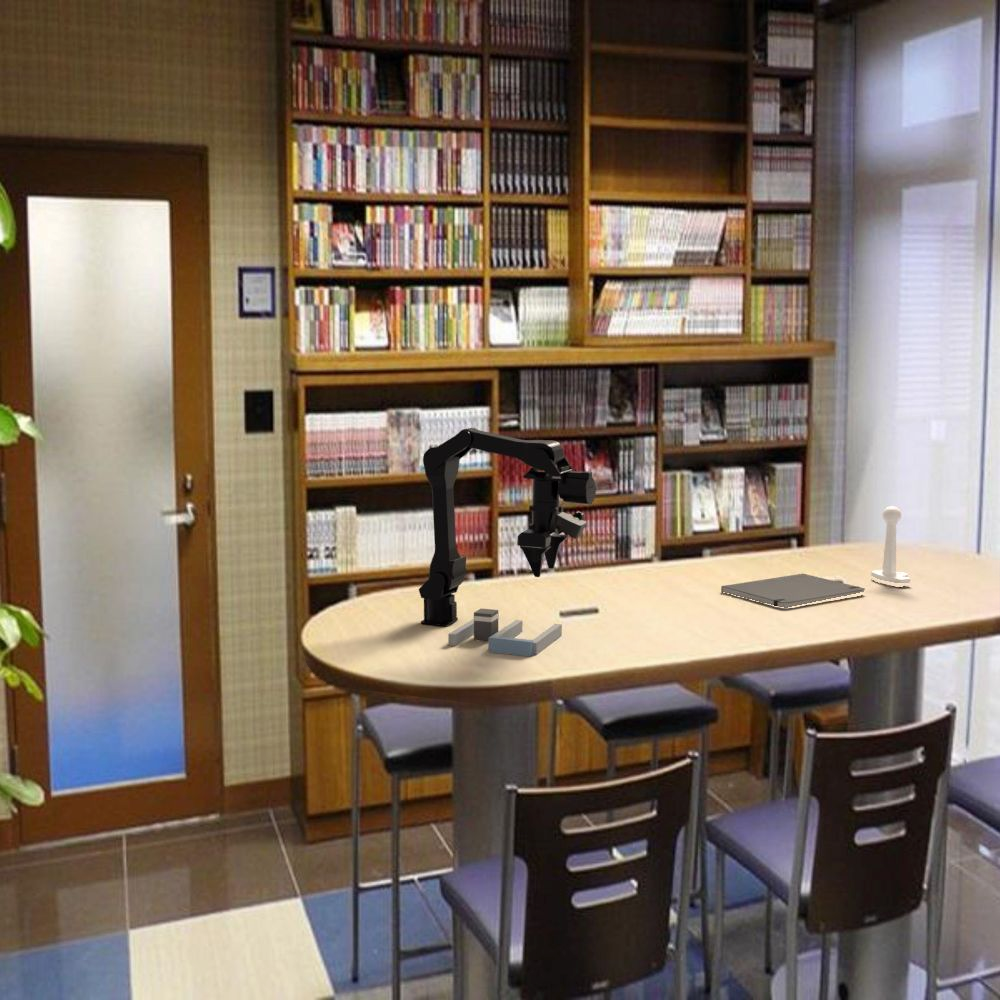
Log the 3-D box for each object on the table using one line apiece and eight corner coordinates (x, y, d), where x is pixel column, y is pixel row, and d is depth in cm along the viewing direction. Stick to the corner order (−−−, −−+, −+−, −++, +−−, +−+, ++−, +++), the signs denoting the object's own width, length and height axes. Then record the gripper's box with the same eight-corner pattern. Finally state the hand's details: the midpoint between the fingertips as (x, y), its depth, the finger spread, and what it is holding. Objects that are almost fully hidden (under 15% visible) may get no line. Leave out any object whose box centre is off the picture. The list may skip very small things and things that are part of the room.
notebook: (802, 581, 317) (720, 594, 302) (802, 573, 317) (721, 585, 302) (867, 597, 299) (783, 612, 284) (867, 588, 298) (784, 602, 284)
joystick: (867, 579, 316) (870, 503, 313) (890, 577, 319) (893, 501, 316) (896, 588, 306) (900, 510, 303) (920, 585, 309) (924, 508, 306)
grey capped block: (473, 640, 259) (473, 612, 258) (481, 635, 262) (480, 608, 261) (491, 642, 257) (491, 614, 256) (498, 637, 261) (498, 609, 260)
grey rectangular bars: (445, 647, 253) (445, 633, 252) (477, 627, 269) (477, 614, 268) (533, 656, 246) (534, 642, 245) (561, 635, 262) (561, 622, 261)
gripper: (568, 510, 247) (567, 585, 249) (595, 497, 264) (593, 567, 266) (517, 506, 251) (515, 580, 253) (546, 493, 268) (544, 563, 270)
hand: (544, 572), depth 261 cm, fingers open, 9 cm apart
